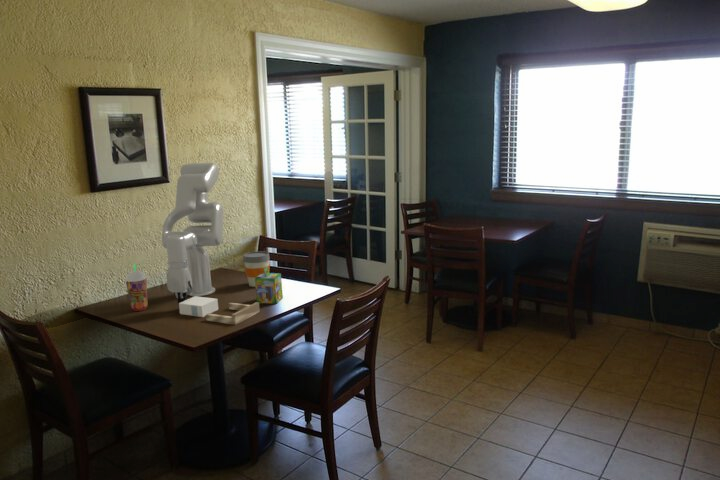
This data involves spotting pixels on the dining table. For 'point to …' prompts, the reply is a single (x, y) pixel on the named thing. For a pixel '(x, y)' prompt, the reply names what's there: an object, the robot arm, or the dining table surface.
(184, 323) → the dining table surface
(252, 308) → the open wooden frame
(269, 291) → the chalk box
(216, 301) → the carton
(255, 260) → the reusable coffee cup
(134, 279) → the smoothie
